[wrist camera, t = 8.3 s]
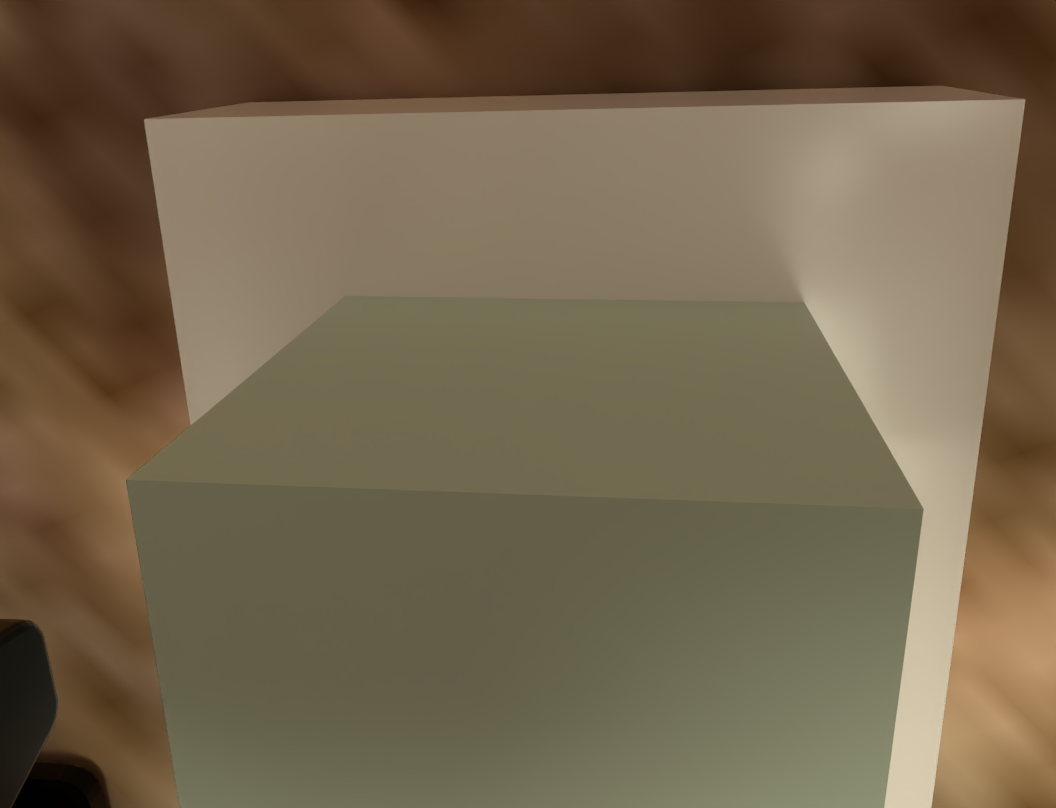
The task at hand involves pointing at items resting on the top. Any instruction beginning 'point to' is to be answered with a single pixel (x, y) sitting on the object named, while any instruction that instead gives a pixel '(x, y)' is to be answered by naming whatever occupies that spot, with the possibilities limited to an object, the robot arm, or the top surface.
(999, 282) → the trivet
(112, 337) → the top surface
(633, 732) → the cube
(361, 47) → the top surface
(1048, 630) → the top surface
